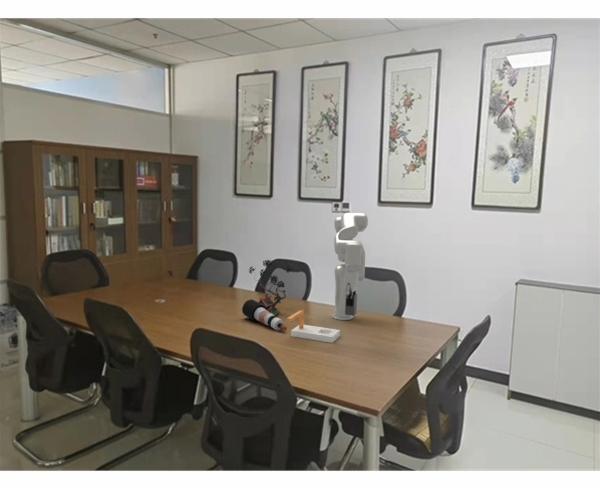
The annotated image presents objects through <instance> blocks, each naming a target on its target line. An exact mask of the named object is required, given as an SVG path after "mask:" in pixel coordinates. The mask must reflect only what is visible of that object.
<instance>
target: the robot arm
mask: <svg viewBox="0 0 600 488" xmlns="http://www.w3.org/2000/svg"><path fill="white" fill-rule="evenodd" d="M333 222H334V229H335V230H334V231H335V233H336V234H335V235H334V240H333V245H334V246H333V248H334V252H335V254H336V255H337V259H338V261H339V262H341V264H338V265H336V266H335V268H334V280H335V281H334V282H335V290H334V291H335V292H334V313H332V314H331V318H332V319H335V320H337V321H338V320H339V321H348V320H352V319H354V316H352V315H345V303H346V306H353V293H355V294H357V290H358V289H359V283H360V282H362V281H363V280H364V279H365V276H366V275H365V273H366V251H365V248H364V244H363V243H362V241H361V240H354V239H355V238H356V237H357V235H358V234H359V233H362V232H364V231H365V230H366V229H367V227H368V225H369V224H368V223H369V219H368V216H367V214H366V213H364V212H345V213H343V214H342V215H341V216H338V217H336V218H334V221H333ZM342 263H344V264H342ZM350 293H351V294H350ZM346 294H347V297H346Z"/></svg>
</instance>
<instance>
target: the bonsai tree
mask: <svg viewBox="0 0 600 488" xmlns="http://www.w3.org/2000/svg"><path fill="white" fill-rule="evenodd" d="M262 265H263V267H265V268H262V269H261V270H260V271H259V276H260V277H261V279H260V280H258V279H257V281H259V285H260V287H261V288H262V289H264V290H265V291H267V292H268V293H270V294H272V295H274V296H275V297H274V298H273V300H272V295H270V296H268V295H269V294H268V293H264V297H265V298H260V297H259V301H257V302H258V303H260V304H262V305H263V306H265V307H266V309H267V311H269V312H270V313H272V314H273V315H275V316H278V314H279V313H280V310H279V309H278V308H277V307H276V306H277V305H278V304H281V303H282V302H281V300H284V299H286V296H287V295H286V292H287V291H286V290H284V289H283V290H280V289H281V288H285V287H286V285H285V282H284V281H282V280H280V281H279V280H278V278H279V277H278V276H277V275H273V274H272V275H270V276H269V279H270V283H266V284H261V282H262V280H263V279H264V278H265V277H266V275H267V273H268V271H269V270H270V268H272V267H274V266H273V265H274V262H272V260H271V259H270V260H269V259H265V260H262ZM253 267H254V266H253V265H252V266H250V267H249V269H248V272H249V273H248V274H252V273H254V274H256V272H255V271H256V270H257V269H256V267H255V268H253ZM260 267H262V266H260ZM267 268H268V269H267ZM265 269H267V270H265ZM264 270H265V271H264ZM285 271H286V273H287V274H289V273H290V272H292V271H293V269H292V265H289V264H288V265H286V268H285ZM263 276H264V277H263ZM254 280H256V279H255V276H254ZM271 284H272V285H271ZM267 285H271V286H269V289H268V288H266V287H264V286H267ZM274 286H277V287H276V288H275V292H273V291H272V288H273V287H274ZM278 292H282V293H283V296H282V297H281V296H280V294H279V293H278Z"/></svg>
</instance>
